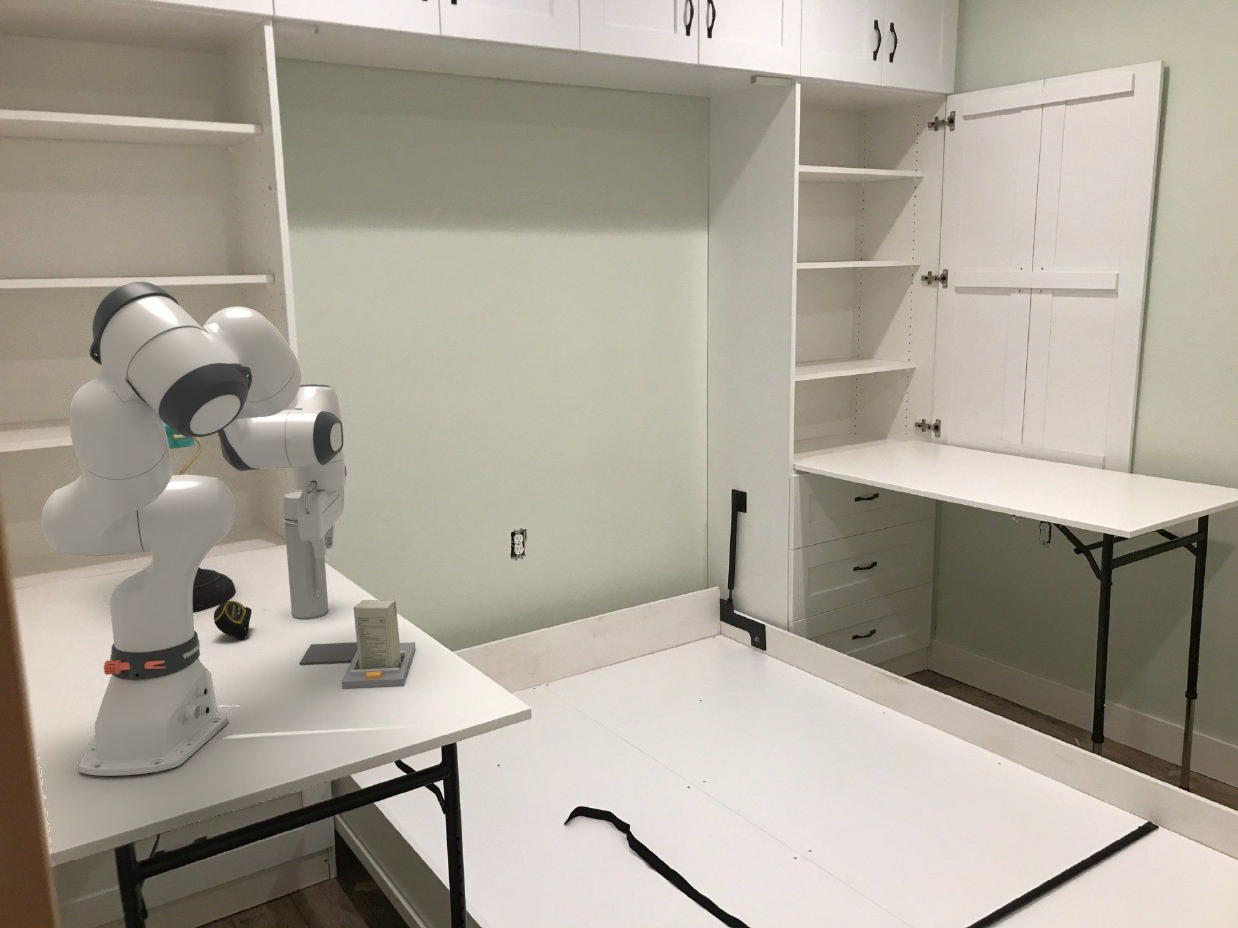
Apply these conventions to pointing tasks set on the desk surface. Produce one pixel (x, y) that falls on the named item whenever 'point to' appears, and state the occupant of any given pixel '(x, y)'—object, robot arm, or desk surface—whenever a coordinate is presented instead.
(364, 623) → the skincare box
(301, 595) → the water bottle
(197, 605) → the banker's lamp
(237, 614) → the tape measure
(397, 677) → the panel
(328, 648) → the mat
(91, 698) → the desk surface
